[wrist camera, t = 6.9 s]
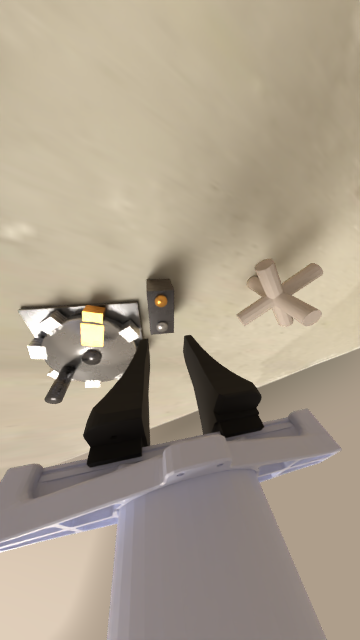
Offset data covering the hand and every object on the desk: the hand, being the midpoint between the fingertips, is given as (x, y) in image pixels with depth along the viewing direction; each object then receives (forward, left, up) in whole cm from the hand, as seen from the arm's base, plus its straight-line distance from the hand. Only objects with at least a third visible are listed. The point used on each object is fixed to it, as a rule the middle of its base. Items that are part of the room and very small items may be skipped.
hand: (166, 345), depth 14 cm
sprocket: (+7, -10, -9) cm, 15 cm away
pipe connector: (-2, +14, -10) cm, 17 cm away
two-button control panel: (0, 0, -10) cm, 10 cm away
